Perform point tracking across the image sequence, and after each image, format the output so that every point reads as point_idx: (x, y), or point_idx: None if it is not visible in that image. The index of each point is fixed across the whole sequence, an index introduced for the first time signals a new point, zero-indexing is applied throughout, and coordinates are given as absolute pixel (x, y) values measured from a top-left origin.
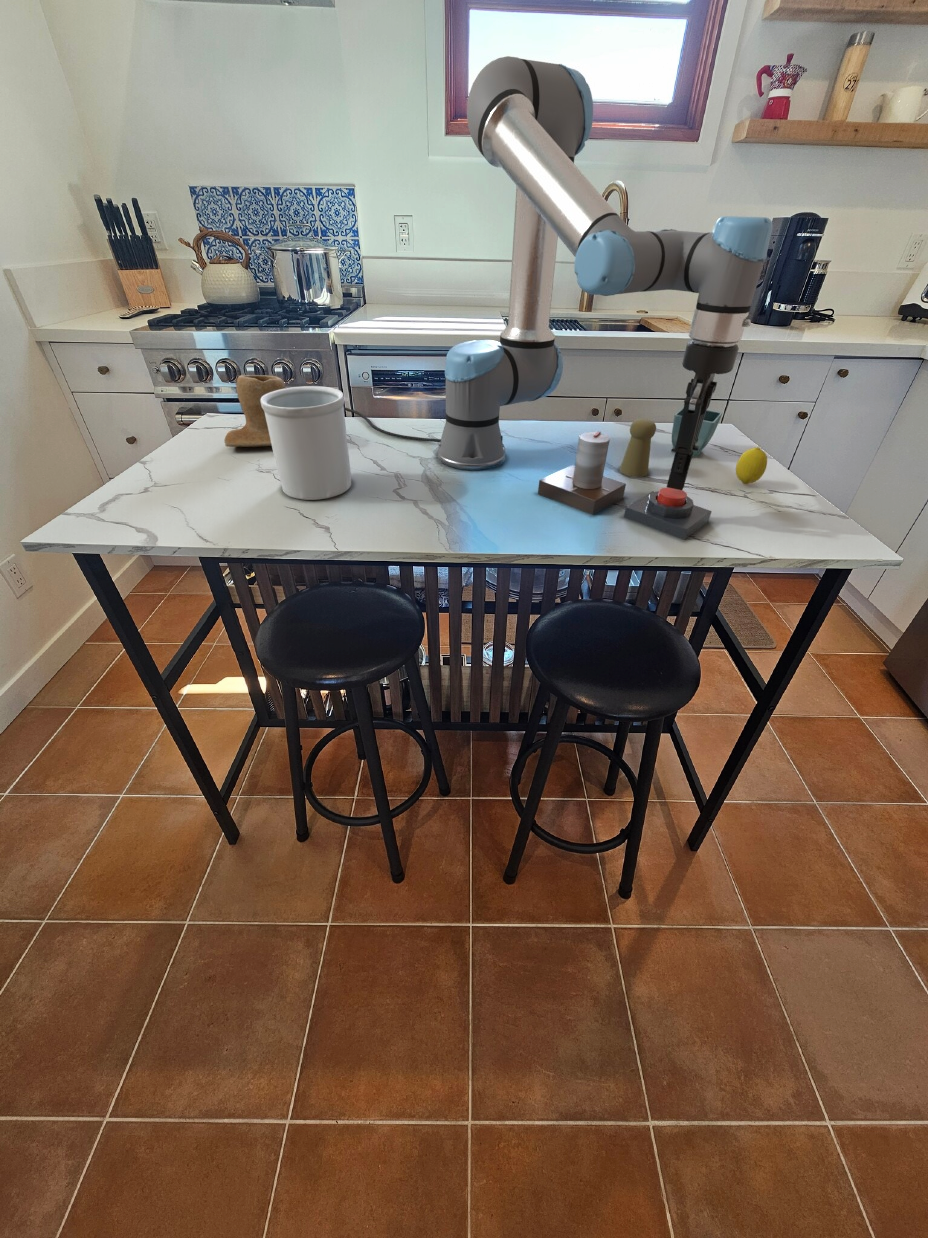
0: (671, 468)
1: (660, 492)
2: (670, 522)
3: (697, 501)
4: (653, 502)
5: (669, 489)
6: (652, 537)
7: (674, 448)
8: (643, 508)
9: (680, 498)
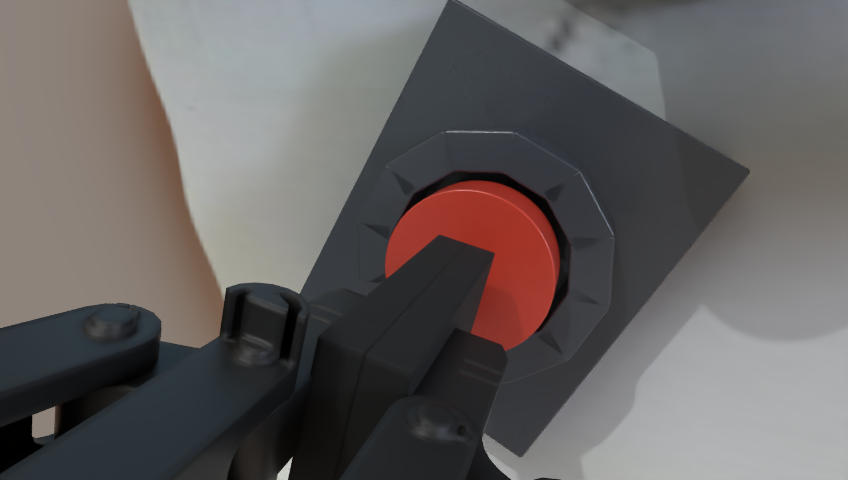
0: (390, 276)
1: (448, 195)
2: (333, 237)
3: (786, 435)
4: (409, 153)
5: (514, 260)
6: (307, 155)
7: (102, 309)
8: (453, 104)
9: None
